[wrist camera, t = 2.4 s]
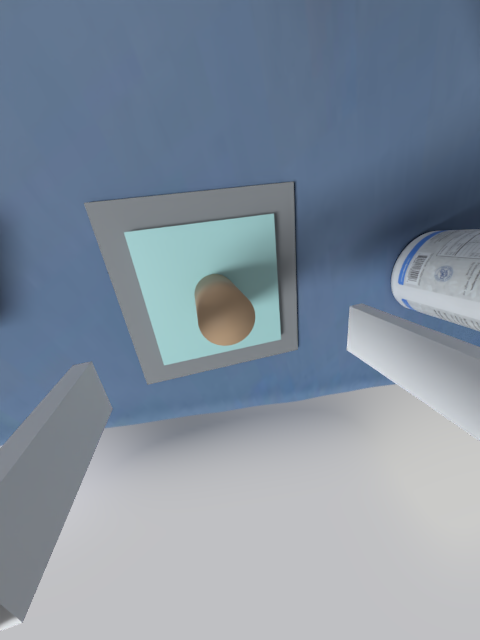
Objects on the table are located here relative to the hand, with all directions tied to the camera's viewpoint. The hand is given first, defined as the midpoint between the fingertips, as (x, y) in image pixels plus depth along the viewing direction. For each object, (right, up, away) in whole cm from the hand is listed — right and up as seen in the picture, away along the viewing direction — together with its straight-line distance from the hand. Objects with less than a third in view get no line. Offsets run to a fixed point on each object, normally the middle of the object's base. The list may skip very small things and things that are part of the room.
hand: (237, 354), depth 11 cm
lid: (-2, +5, +11) cm, 12 cm away
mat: (-3, +5, +12) cm, 13 cm away
